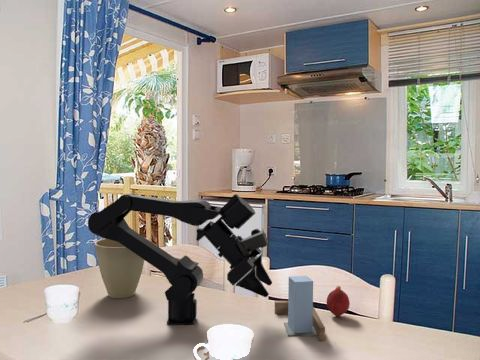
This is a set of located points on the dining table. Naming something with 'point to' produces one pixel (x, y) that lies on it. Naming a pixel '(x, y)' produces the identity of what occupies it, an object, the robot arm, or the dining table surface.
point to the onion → (338, 302)
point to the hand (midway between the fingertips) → (269, 289)
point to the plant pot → (118, 268)
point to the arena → (317, 330)
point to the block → (300, 304)
